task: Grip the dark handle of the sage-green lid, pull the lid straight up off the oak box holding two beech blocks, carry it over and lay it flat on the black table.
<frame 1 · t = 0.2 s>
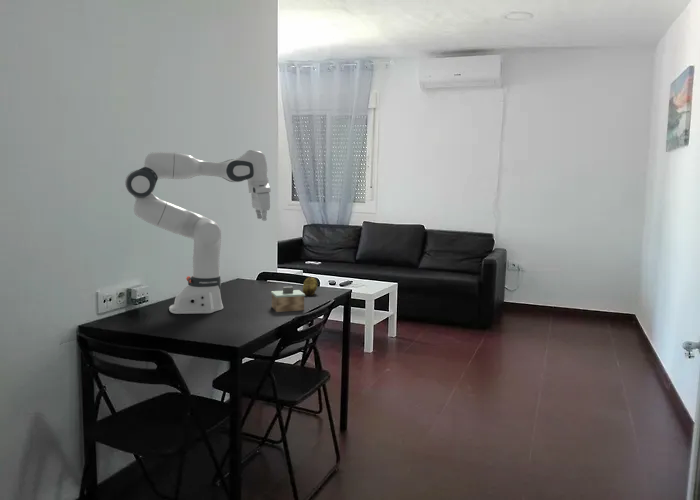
hand: (261, 219, 256), 39 cm above the table, tool pointing down, fingers open, 8 cm apart
lid: (287, 294, 252), point 7 cm above the table, touching box
block a: (282, 308, 252), point 1 cm above the table, touching box
box: (287, 310, 253), on the table
block b: (293, 308, 254), point 1 cm above the table, touching box
potato: (309, 294, 288), on the table
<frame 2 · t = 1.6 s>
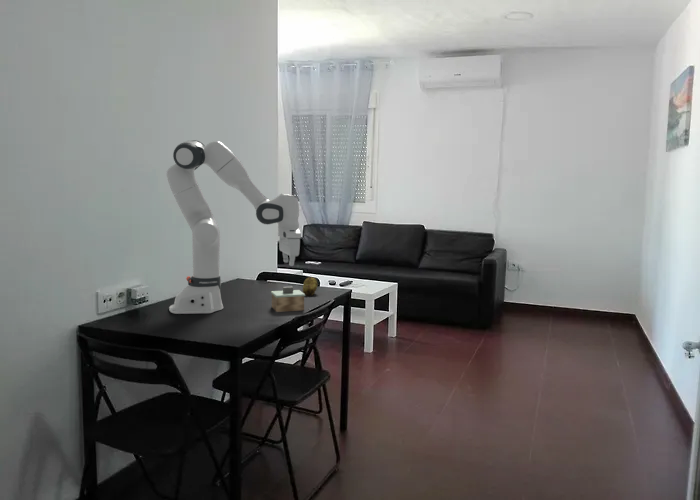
hand: (288, 264, 251), 20 cm above the table, tool pointing down, fingers open, 8 cm apart
nothing on the table moved.
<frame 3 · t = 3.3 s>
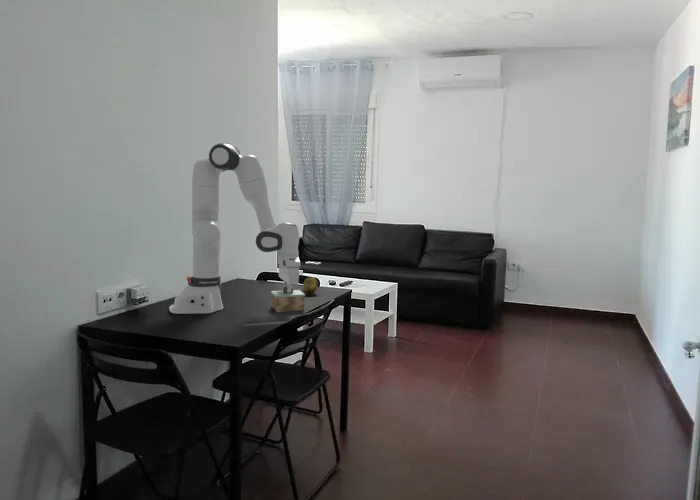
hand: (287, 291, 252), 8 cm above the table, tool pointing down, fingers closed on lid, 2 cm apart
lid: (287, 294, 252), point 7 cm above the table, touching box, gripper
everything else where it was.
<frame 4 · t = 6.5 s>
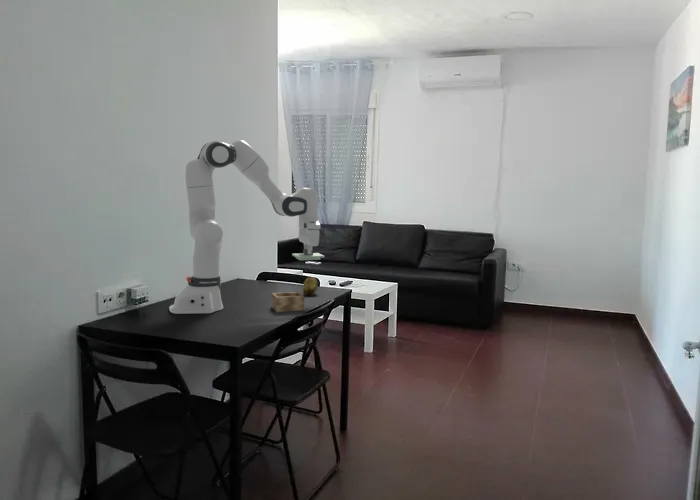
hand: (308, 253, 268), 23 cm above the table, tool pointing down, fingers closed on lid
lid: (308, 256, 268), point 21 cm above the table, touching gripper
everything else where it was.
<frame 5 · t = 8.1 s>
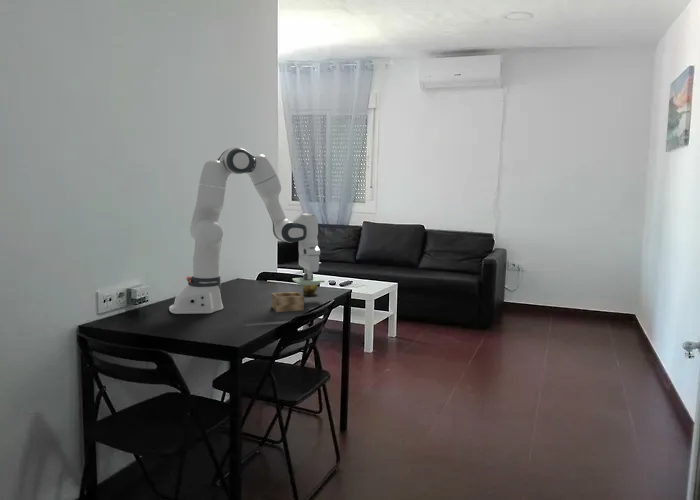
hand: (308, 278, 270), 11 cm above the table, tool pointing down, fingers closed on lid
lid: (308, 281, 270), point 10 cm above the table, touching gripper
everything else where it was.
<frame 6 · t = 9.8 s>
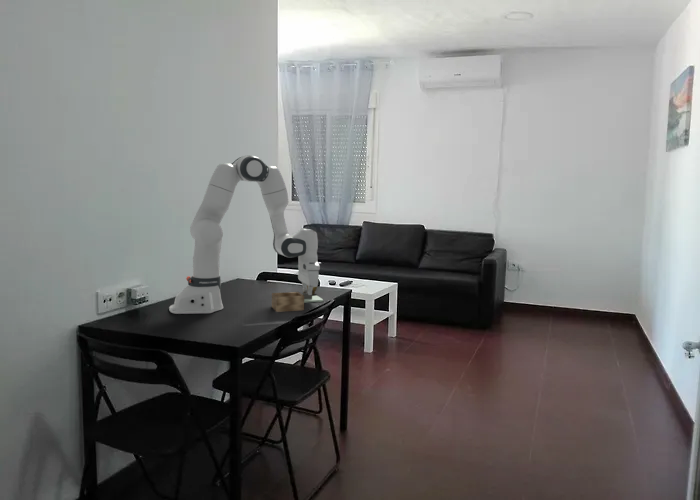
hand: (307, 293, 270), 4 cm above the table, tool pointing down, fingers open, 6 cm apart
lid: (307, 300, 271), point 1 cm above the table
everything else where it was.
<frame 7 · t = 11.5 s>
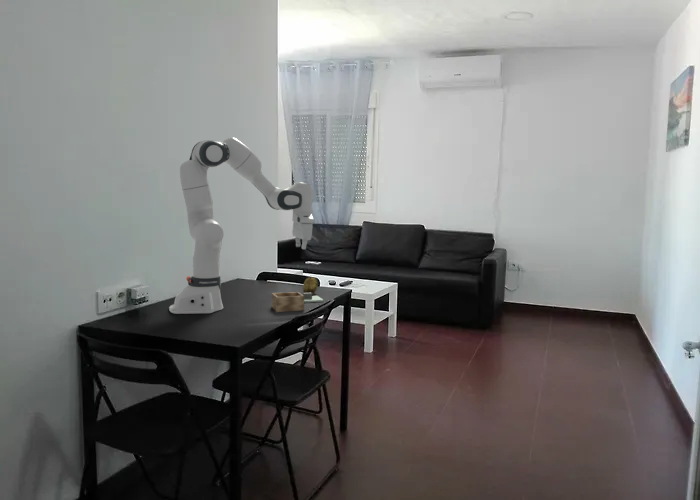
hand: (300, 247, 269), 25 cm above the table, tool pointing down, fingers open, 8 cm apart
nothing on the table moved.
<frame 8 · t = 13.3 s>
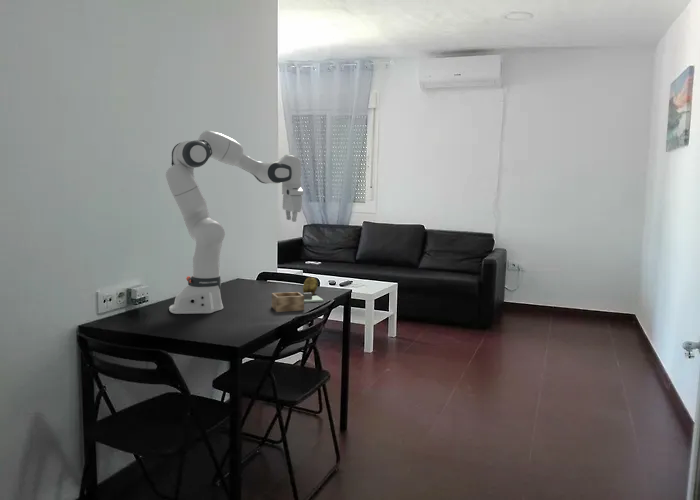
hand: (291, 220, 271), 37 cm above the table, tool pointing down, fingers open, 8 cm apart
nothing on the table moved.
at the end: lid inside the target area (0.0 cm from its centre), point 0.9 cm above the table; lid tilted 0°; lid touching table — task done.
